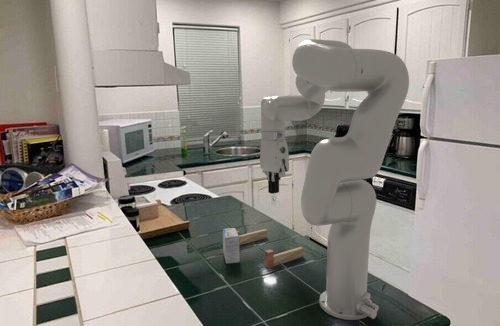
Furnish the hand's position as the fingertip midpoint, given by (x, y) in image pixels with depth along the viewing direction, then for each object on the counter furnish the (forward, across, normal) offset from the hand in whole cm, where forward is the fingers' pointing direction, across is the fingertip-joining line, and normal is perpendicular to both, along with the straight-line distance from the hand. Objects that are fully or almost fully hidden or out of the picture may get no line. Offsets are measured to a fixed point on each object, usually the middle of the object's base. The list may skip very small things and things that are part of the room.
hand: (273, 192), depth 119 cm
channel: (+20, +1, +2) cm, 20 cm away
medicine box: (+20, +3, +15) cm, 25 cm away
